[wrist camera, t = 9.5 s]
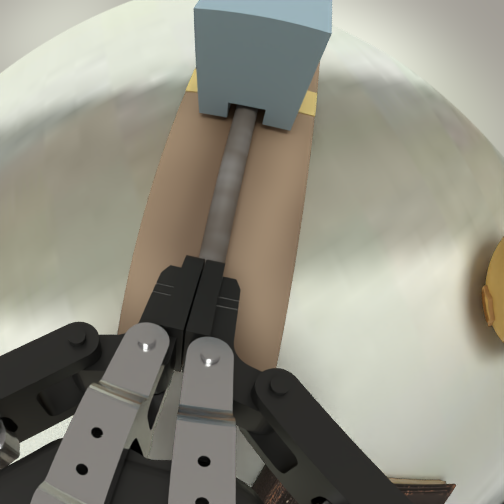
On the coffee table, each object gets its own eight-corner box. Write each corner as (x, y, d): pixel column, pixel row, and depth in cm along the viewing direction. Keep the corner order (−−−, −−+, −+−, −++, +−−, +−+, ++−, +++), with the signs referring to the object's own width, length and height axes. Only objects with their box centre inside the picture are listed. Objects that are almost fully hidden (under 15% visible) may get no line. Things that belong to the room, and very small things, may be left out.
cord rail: (314, 69, 19) (334, 22, 14) (268, 373, 15) (289, 401, 10) (210, 49, 19) (211, -2, 14) (124, 343, 15) (86, 357, 10)
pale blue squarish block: (297, 82, 17) (331, -9, 9) (290, 130, 16) (331, 33, 9) (216, 66, 16) (220, -30, 9) (199, 112, 15) (193, 8, 8)
